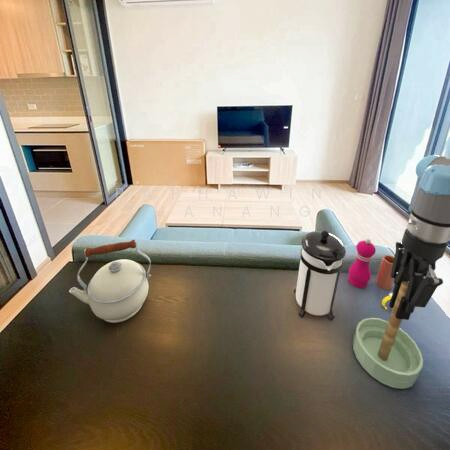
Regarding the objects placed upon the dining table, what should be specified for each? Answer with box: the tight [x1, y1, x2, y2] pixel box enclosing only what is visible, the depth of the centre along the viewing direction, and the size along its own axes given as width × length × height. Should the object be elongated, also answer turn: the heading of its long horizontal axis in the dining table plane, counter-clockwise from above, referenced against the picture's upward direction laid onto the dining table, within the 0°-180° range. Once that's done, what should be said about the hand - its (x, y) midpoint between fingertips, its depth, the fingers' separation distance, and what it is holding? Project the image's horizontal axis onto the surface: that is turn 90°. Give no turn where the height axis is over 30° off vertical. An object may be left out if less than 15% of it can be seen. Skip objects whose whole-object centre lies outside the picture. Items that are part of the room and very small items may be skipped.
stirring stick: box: [378, 281, 409, 361], centre depth 63 cm, size 2×2×26 cm
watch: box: [381, 292, 393, 311], centre depth 82 cm, size 6×3×6 cm, turn 87°
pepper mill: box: [347, 238, 376, 289], centre depth 90 cm, size 7×7×20 cm
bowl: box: [352, 317, 424, 390], centre depth 67 cm, size 15×15×6 cm
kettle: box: [68, 239, 152, 324], centre depth 79 cm, size 25×18×25 cm
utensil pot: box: [375, 254, 398, 291], centre depth 90 cm, size 5×5×12 cm
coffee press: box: [293, 230, 347, 321], centre depth 80 cm, size 17×16×30 cm
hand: (398, 312), depth 62 cm, fingers closed on stirring stick, 2 cm apart
